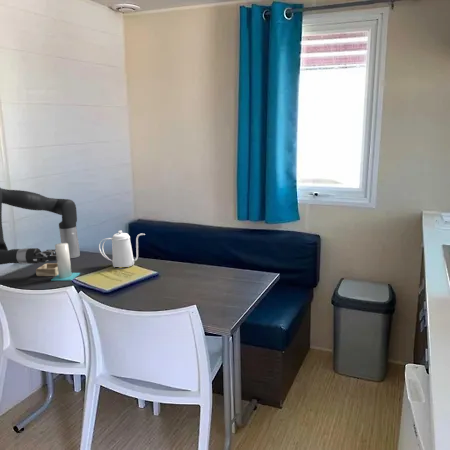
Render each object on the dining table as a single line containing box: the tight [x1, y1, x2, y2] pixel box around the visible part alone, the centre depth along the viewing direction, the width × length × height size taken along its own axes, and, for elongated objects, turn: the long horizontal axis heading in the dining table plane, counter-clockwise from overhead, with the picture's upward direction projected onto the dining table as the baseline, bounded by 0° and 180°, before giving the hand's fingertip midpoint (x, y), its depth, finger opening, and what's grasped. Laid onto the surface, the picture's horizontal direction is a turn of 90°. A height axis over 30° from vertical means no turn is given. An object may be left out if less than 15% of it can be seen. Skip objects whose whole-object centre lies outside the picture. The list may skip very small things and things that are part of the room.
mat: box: [51, 272, 81, 282], centre depth 222 cm, size 10×10×1 cm
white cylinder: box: [54, 242, 73, 278], centre depth 220 cm, size 6×6×16 cm
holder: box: [35, 262, 59, 277], centre depth 230 cm, size 10×10×4 cm
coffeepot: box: [98, 230, 146, 268], centre depth 234 cm, size 11×25×19 cm, turn 84°
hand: (60, 255), depth 220 cm, fingers open, 8 cm apart
